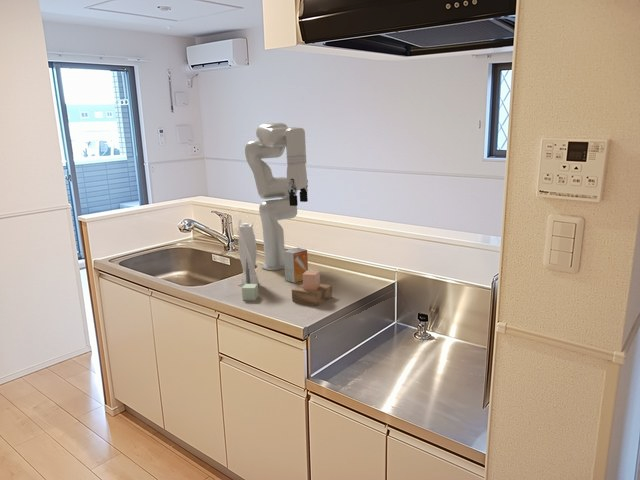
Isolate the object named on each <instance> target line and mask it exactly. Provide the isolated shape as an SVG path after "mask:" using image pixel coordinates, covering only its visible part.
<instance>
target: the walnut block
mask: <svg viewBox="0 0 640 480" xmlns="http://www.w3.org/2000/svg"><path fill="white" fill-rule="evenodd" d="M332 297H333V286H332V285H331V284H327V283H321V282H320V287H319V288H318V289H317V290H304V289H303V283H302V284H300V285H298V286H297V287H294V288H292V289H291V301H292V302H293V303H294V302H295V303H298V304H299V303H300V304H303V305H311V306H315V307H317V306H319V305H321V304H322V303H324V302H326V301H327V300H329V299H331V298H332Z"/></svg>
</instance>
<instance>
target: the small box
mask: <svg viewBox="0 0 640 480" xmlns="http://www.w3.org/2000/svg"><path fill="white" fill-rule="evenodd" d="M308 260H309V259H308V249H305V248H301V247H295V248H291V249H287V250H285V251H284V262H285V269H284V275H285V279H284V280H285V281H288V282H290V283H295V284H296V283H298V282H301V281H302V282H303V275H302V274H303V273H305V272H306V271H307V270H309V262H308Z"/></svg>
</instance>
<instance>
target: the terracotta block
mask: <svg viewBox="0 0 640 480" xmlns="http://www.w3.org/2000/svg"><path fill="white" fill-rule="evenodd" d="M302 275H303V280H302V284H303V289H304V290H317V289H318V288H319V287H320V283H321V277H320V275H321V274H320V270H309V269H308V270H307V271H306V272H305V273H303V274H302Z"/></svg>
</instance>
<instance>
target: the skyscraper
mask: <svg viewBox="0 0 640 480" xmlns="http://www.w3.org/2000/svg"><path fill="white" fill-rule="evenodd" d="M237 227H238V240H237V243H238V245H237V246H238V254H239V260H240V264H241V267H242V278H241V283H240V284H238V285H237V286H238V287H241V288H242V287H243V286H244V285H245V284H258V286H261V285H262V283H260V282H259V278H258V275H257V272H256V262H257V261H256V260H257V253H258V251H257V249H258V248H257V241H256V240H257V239H256V237H255V236H256V235H255V232H254V223H253V222H251V223H249V222H243V223H242V220H241V219H238V226H237Z"/></svg>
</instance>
